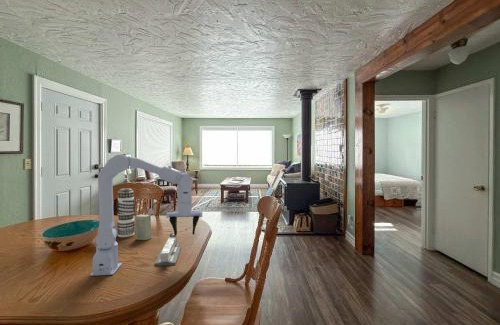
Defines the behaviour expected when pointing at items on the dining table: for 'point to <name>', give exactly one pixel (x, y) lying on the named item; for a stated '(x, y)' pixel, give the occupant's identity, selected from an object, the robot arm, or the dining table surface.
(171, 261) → the label board
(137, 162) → the robot arm
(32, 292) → the dining table surface
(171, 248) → the swing arm
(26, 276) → the dining table surface
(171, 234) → the grey joystick
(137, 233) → the skincare box
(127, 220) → the decorative candle
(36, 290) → the dining table surface
